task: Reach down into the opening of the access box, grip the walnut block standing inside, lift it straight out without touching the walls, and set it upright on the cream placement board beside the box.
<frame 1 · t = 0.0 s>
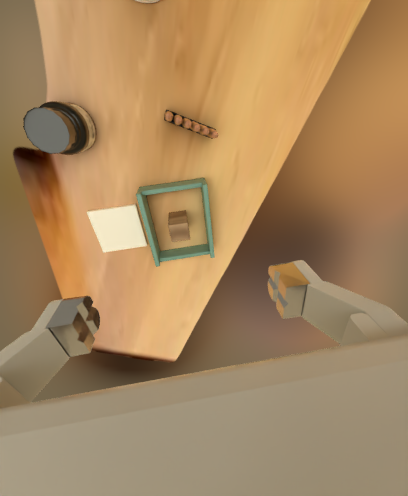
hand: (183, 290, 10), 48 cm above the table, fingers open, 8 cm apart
ink bottle: (74, 127, 47), on the table
ammunition clip: (188, 123, 49), on the table
placement board: (119, 228, 59), on the table
walnut block: (179, 225, 57), in the access box
access box: (178, 219, 60), on the table
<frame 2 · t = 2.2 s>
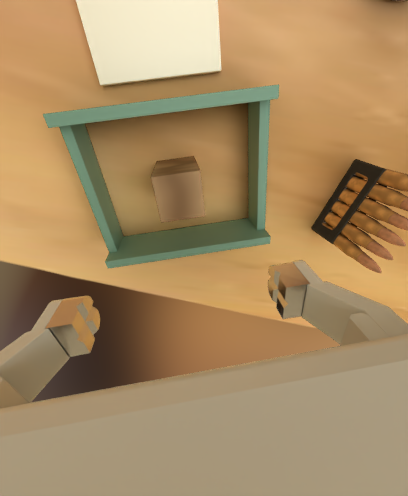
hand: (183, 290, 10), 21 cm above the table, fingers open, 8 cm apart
ammunition clip: (335, 197, 32), on the table
walnut block: (179, 186, 25), in the access box
access box: (178, 177, 28), on the table
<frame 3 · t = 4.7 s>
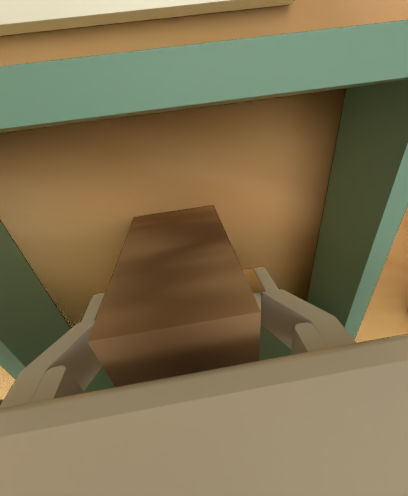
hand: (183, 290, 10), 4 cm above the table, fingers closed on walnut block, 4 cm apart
walnut block: (183, 288, 10), in the access box, touching gripper
access box: (180, 245, 14), on the table
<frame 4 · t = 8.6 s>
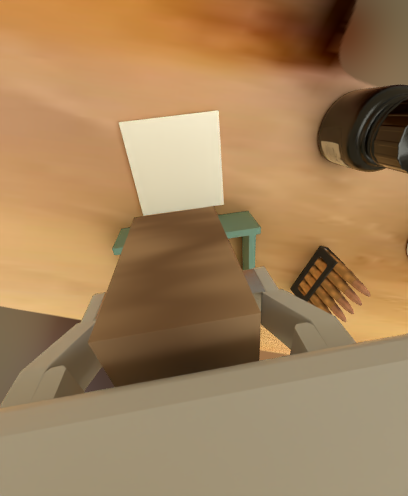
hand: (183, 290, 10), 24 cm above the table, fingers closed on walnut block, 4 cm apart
ink bottle: (346, 129, 31), on the table
ammunition clip: (307, 268, 43), on the table
placement board: (177, 166, 30), on the table
walnut block: (183, 288, 10), point 24 cm above the table, touching gripper
access box: (192, 261, 39), on the table
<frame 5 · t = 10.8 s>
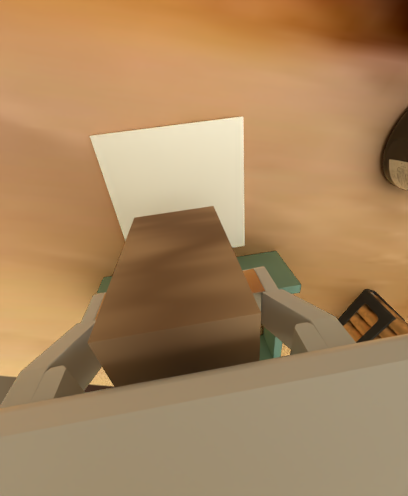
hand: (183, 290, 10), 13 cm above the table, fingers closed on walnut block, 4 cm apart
ammunition clip: (345, 314, 34), on the table
placement board: (179, 196, 21), on the table
walnut block: (183, 288, 10), point 13 cm above the table, touching gripper
access box: (199, 312, 30), on the table
when the fingers open (7 cm above the table, at t = 12.5 s): walnut block drops 1 cm, resting on placement board.
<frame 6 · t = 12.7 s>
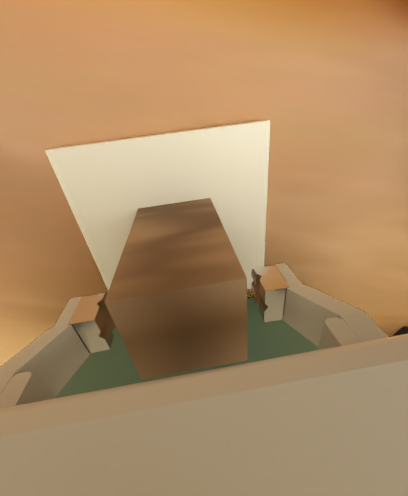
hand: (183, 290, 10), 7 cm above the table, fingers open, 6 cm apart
placement board: (178, 227, 16), on the table
walnut block: (182, 270, 12), on the placement board, point 5 cm above the table
access box: (203, 358, 24), on the table
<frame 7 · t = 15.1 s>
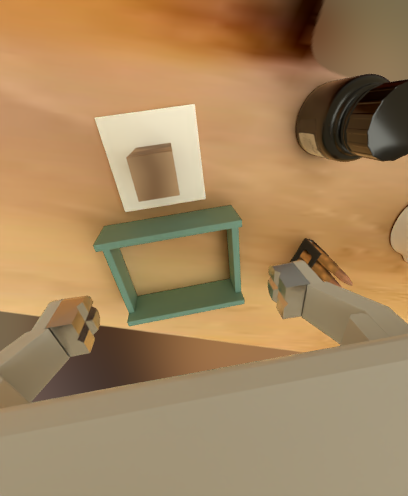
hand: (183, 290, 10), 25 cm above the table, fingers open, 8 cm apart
ink bottle: (323, 120, 31), on the table
ammunition clip: (294, 261, 44), on the table
placement board: (156, 161, 30), on the table
walnut block: (156, 169, 26), on the placement board, point 5 cm above the table
access box: (177, 257, 39), on the table
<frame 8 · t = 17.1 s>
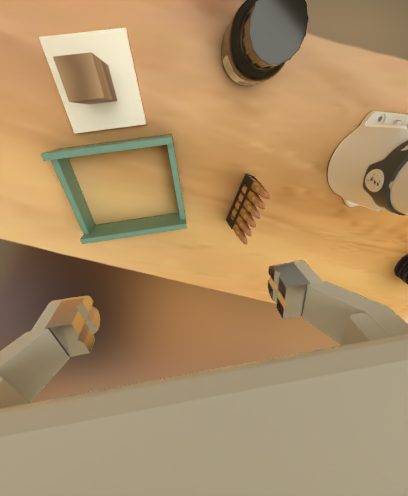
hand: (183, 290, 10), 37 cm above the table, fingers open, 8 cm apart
ink bottle: (247, 52, 35), on the table
ammunition clip: (239, 198, 48), on the table
placement board: (99, 85, 35), on the table
walnut block: (90, 82, 31), on the placement board, point 5 cm above the table
access box: (128, 186, 43), on the table
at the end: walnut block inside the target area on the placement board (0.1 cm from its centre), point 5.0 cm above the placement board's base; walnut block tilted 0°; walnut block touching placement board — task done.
